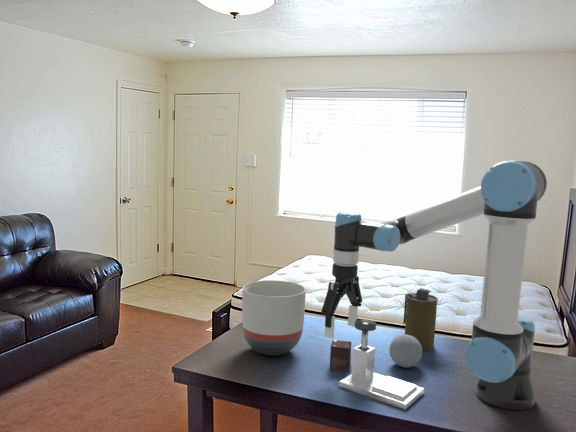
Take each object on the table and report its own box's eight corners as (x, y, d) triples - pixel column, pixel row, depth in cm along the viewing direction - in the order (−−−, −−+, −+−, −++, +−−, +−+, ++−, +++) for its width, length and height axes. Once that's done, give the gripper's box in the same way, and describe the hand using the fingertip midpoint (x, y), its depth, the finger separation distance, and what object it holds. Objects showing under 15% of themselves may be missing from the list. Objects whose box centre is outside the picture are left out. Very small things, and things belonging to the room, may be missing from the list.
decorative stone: (424, 364, 161) (426, 334, 160) (416, 375, 153) (418, 343, 152) (393, 357, 166) (395, 327, 165) (384, 368, 157) (386, 336, 156)
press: (423, 393, 141) (426, 357, 140) (405, 409, 132) (408, 370, 130) (360, 372, 153) (362, 339, 152) (339, 386, 144) (340, 350, 142)
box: (349, 371, 154) (350, 348, 153) (329, 369, 155) (330, 346, 154) (350, 364, 160) (351, 341, 159) (331, 361, 161) (332, 339, 160)
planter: (307, 343, 175) (309, 283, 173) (297, 367, 155) (300, 299, 153) (249, 338, 179) (251, 278, 176) (233, 360, 159) (235, 293, 156)
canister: (438, 344, 179) (442, 289, 177) (429, 353, 170) (433, 295, 168) (408, 337, 185) (411, 284, 183) (397, 346, 176) (401, 289, 174)
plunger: (377, 367, 146) (380, 322, 144) (367, 374, 141) (369, 327, 140) (358, 362, 150) (361, 317, 148) (348, 368, 145) (350, 322, 143)
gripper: (355, 255, 166) (350, 319, 168) (311, 267, 146) (307, 338, 149) (375, 259, 161) (371, 324, 164) (333, 272, 141) (329, 345, 144)
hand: (340, 331), depth 156 cm, fingers open, 13 cm apart
